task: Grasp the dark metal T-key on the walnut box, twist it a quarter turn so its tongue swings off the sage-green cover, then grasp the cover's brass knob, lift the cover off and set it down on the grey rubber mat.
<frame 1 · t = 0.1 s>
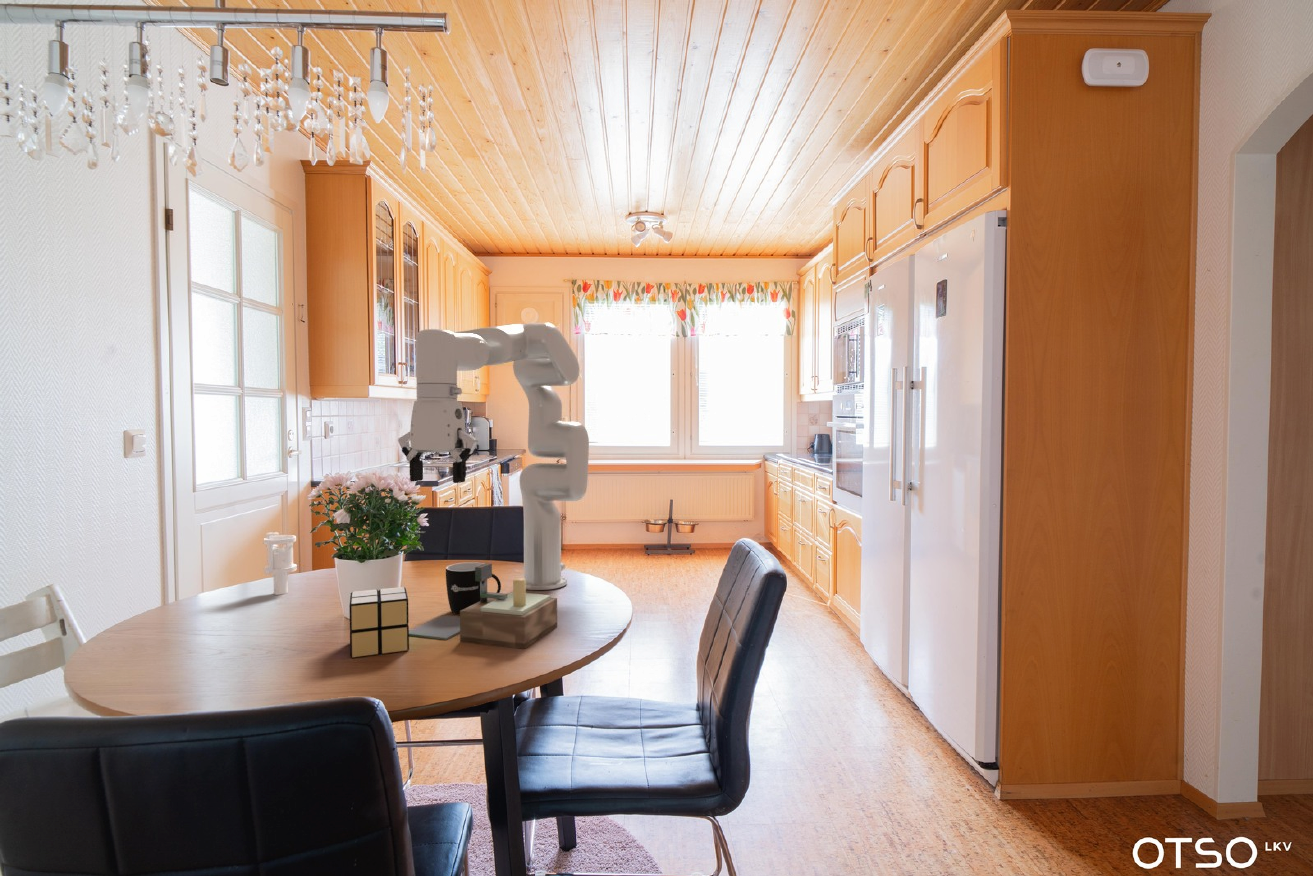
hand: (437, 481, 131), 31 cm above the table, fingers open, 9 cm apart
mug: (473, 611, 152), on the table
case: (510, 634, 136), on the table
puzzle cube: (379, 648, 128), on the table
mat: (444, 627, 139), on the table
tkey: (493, 584, 136), point 10 cm above the table, hinge at 0.0°
white cylindrical part: (280, 593, 167), on the table
cover: (516, 605, 135), point 6 cm above the table, touching case
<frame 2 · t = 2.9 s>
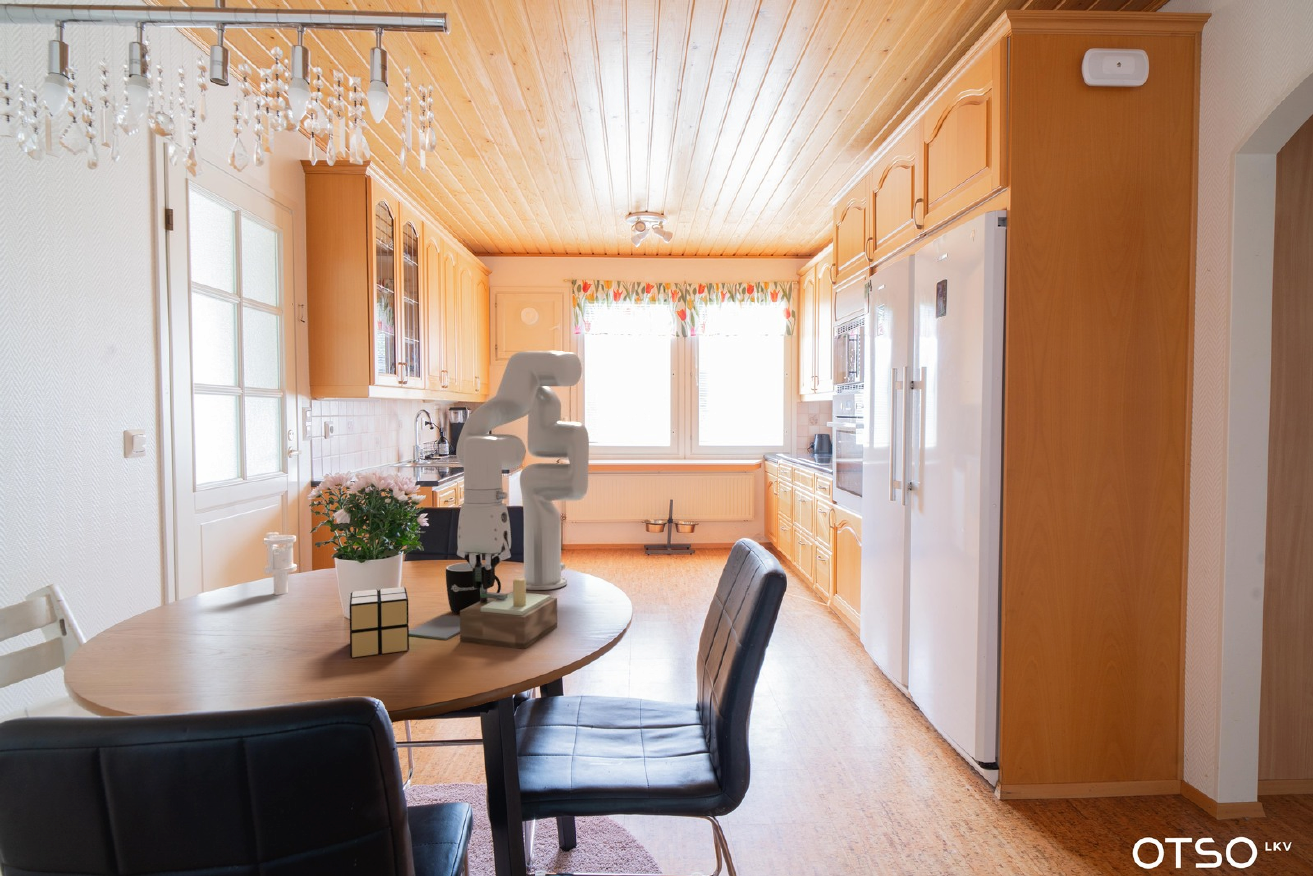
hand: (483, 586, 137), 9 cm above the table, fingers closed
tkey: (493, 584, 136), point 10 cm above the table, hinge at 0.0°, touching gripper
everything else where it was.
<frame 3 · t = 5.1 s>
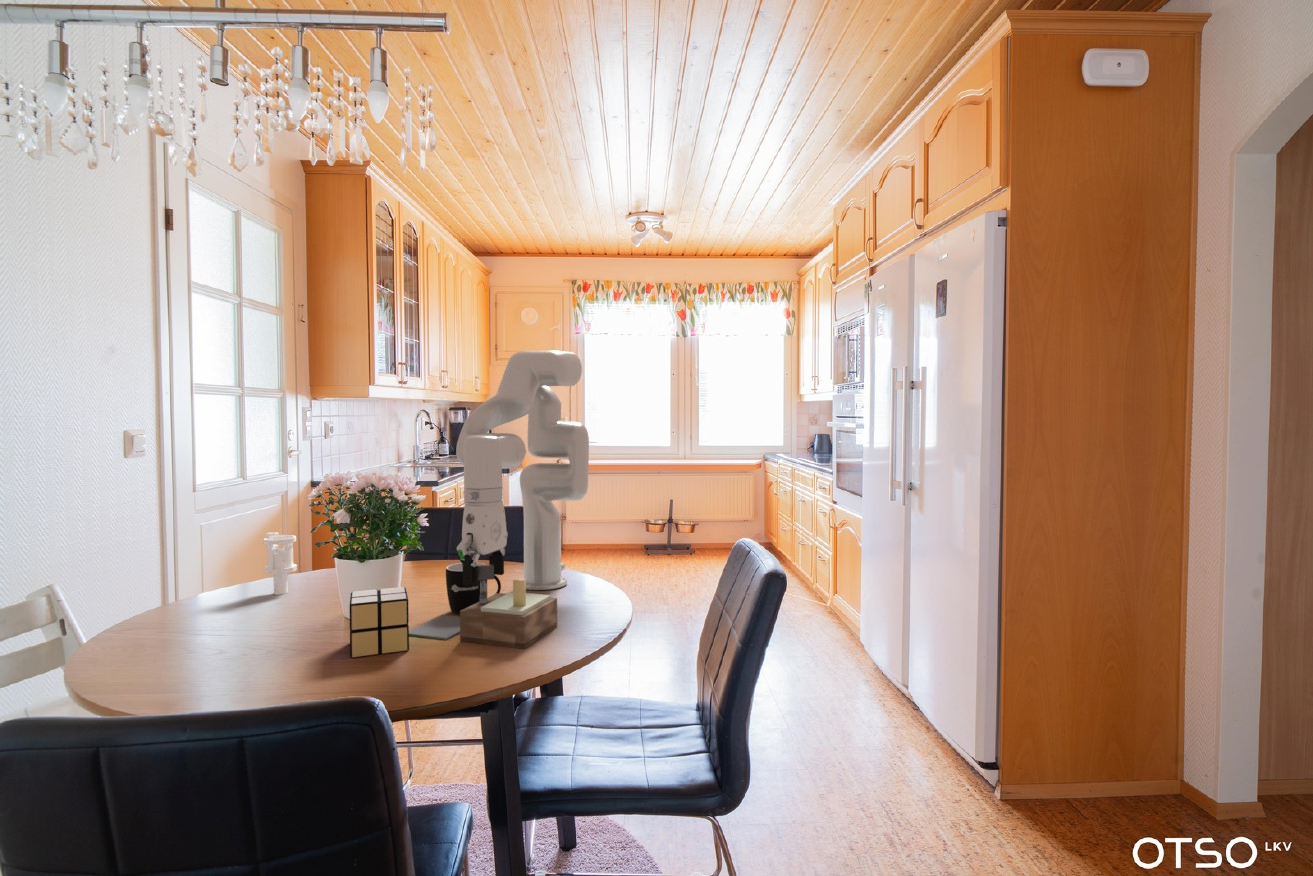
hand: (484, 579, 137), 10 cm above the table, fingers open, 9 cm apart
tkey: (483, 586, 135), point 10 cm above the table, hinge at -59.6°
everything else where it was.
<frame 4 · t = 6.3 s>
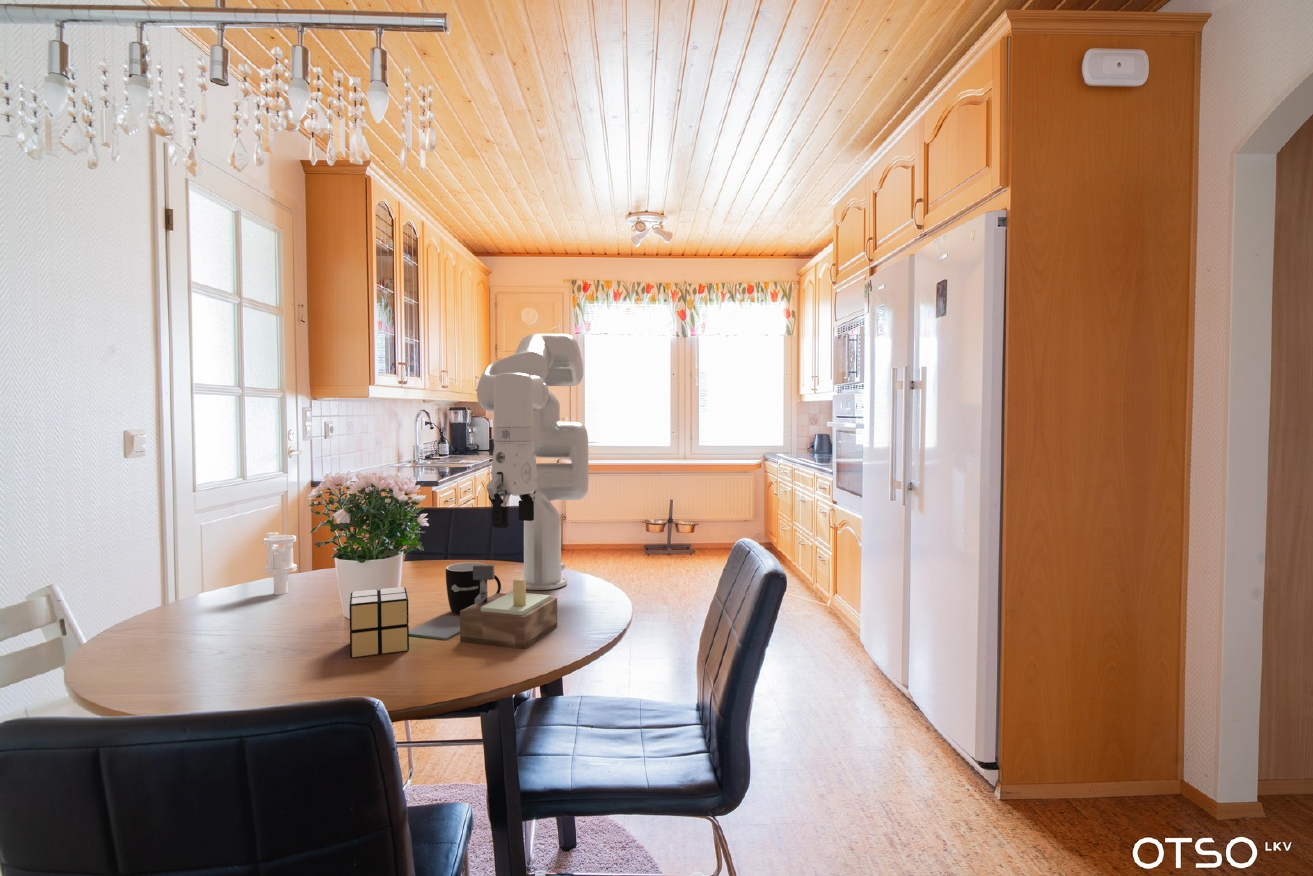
hand: (513, 523, 132), 23 cm above the table, fingers open, 9 cm apart
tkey: (481, 586, 135), point 10 cm above the table, hinge at -70.8°
everything else where it was.
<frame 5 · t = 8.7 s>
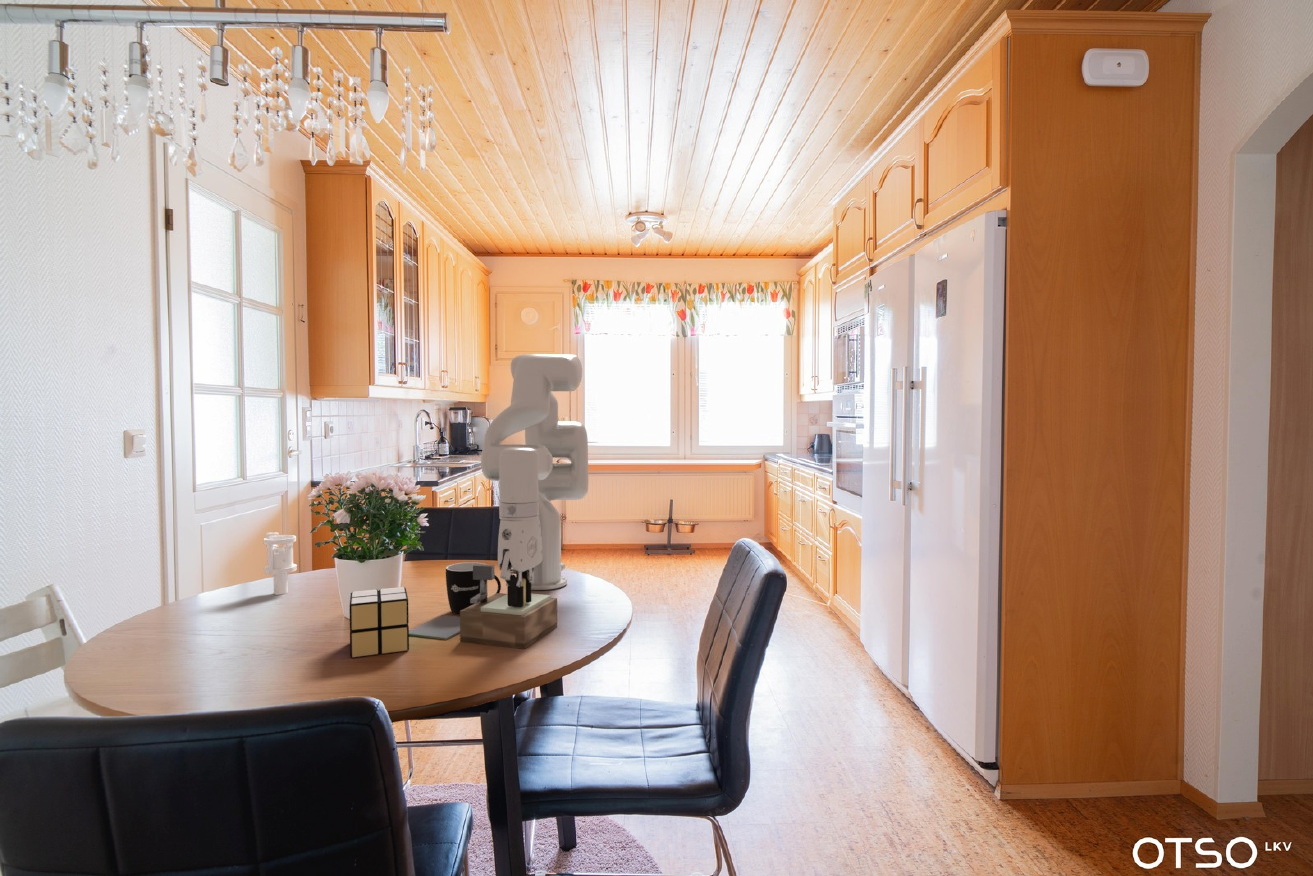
hand: (519, 603, 132), 7 cm above the table, fingers closed on cover, 2 cm apart
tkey: (479, 586, 135), point 10 cm above the table, hinge at -81.3°
cover: (516, 605, 135), point 6 cm above the table, touching case, gripper
everything else where it was.
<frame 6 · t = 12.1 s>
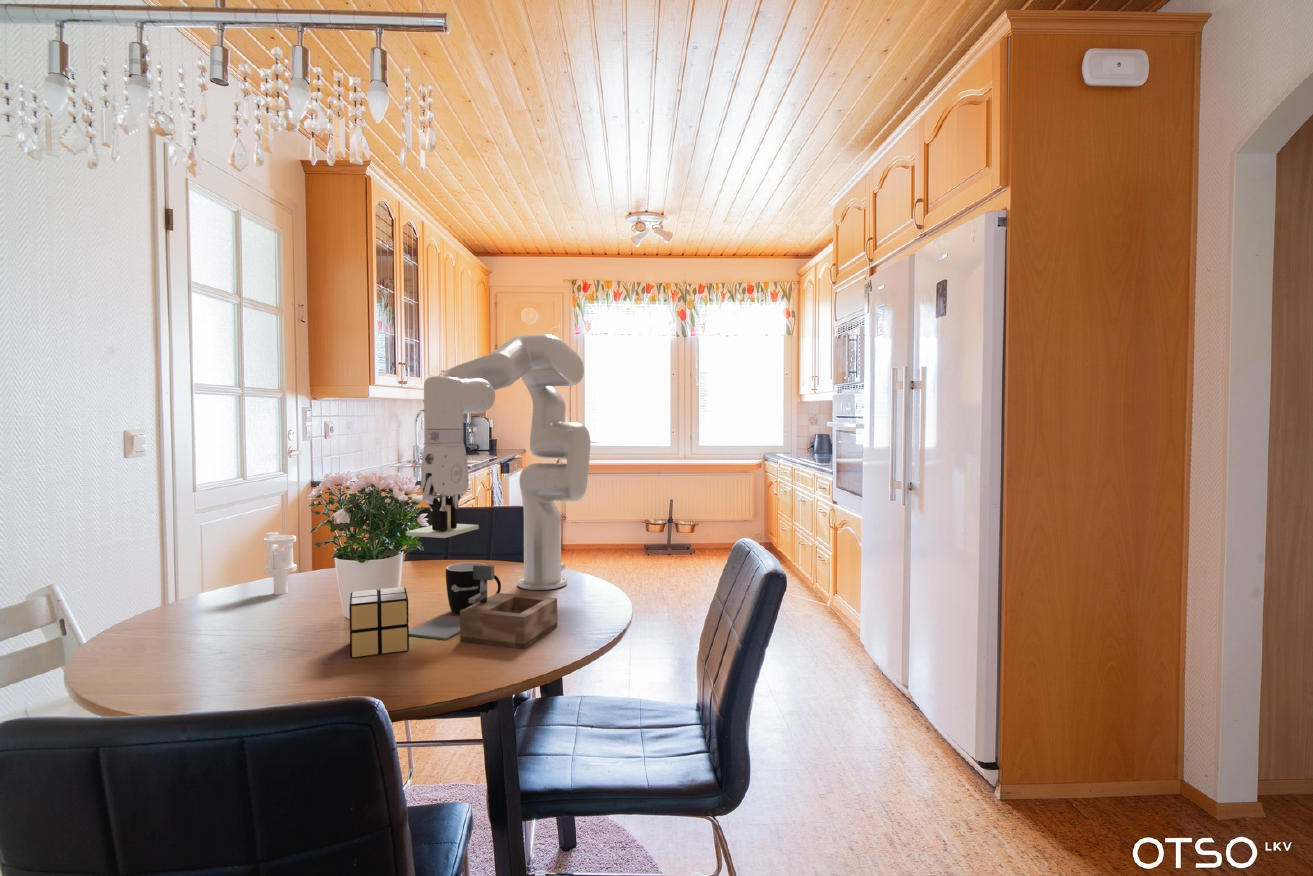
hand: (444, 528, 136), 21 cm above the table, fingers closed on cover, 2 cm apart
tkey: (478, 586, 135), point 10 cm above the table, hinge at -85.5°
cover: (443, 532, 139), point 20 cm above the table, touching gripper
everything else where it was.
when the fingers open (3 cm above the table, at t = 15.4 s): cover drops 2 cm, resting on mat.
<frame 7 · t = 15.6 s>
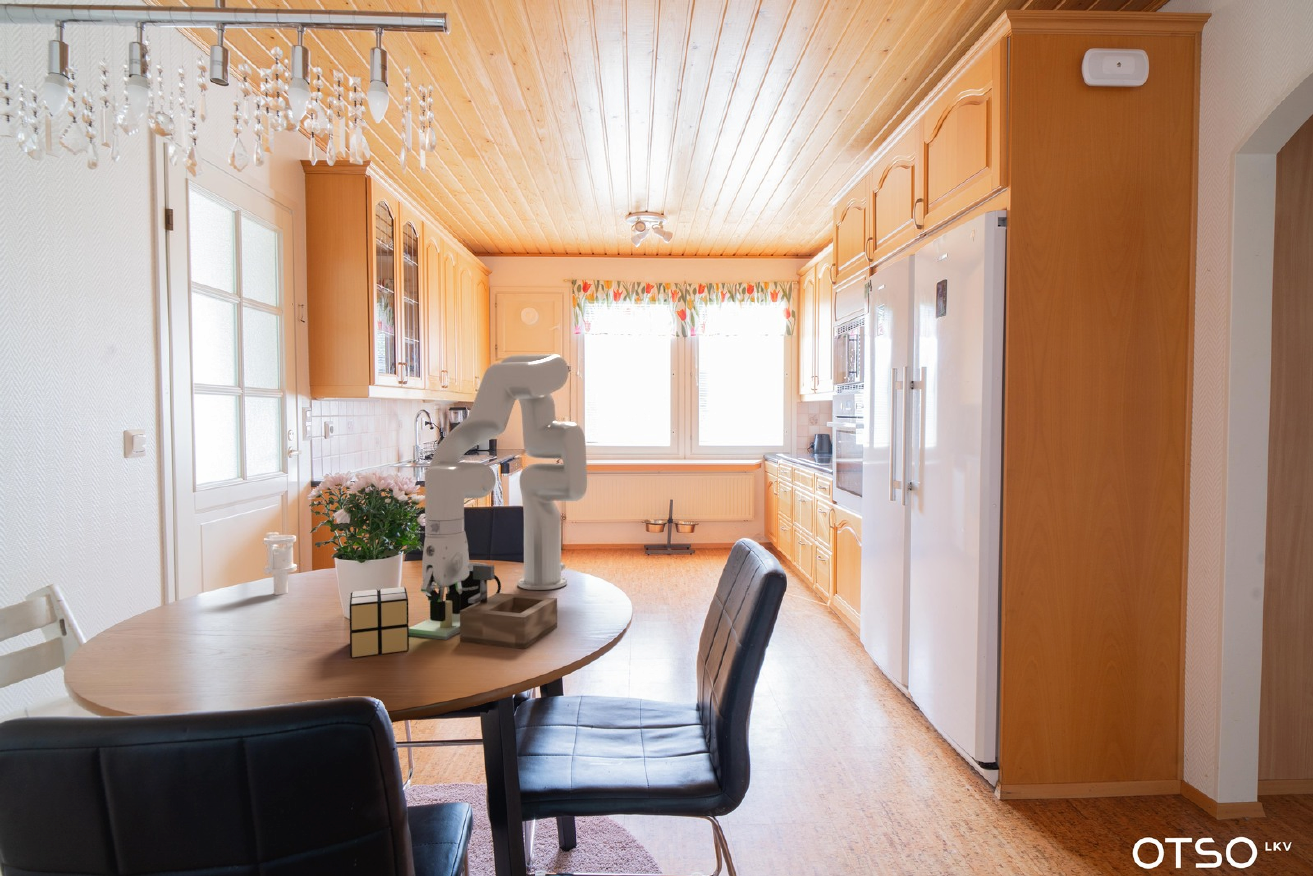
hand: (445, 616, 136), 3 cm above the table, fingers open, 4 cm apart
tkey: (478, 586, 135), point 10 cm above the table, hinge at -86.5°
cover: (445, 625, 140), resting on mat
everything else where it was.
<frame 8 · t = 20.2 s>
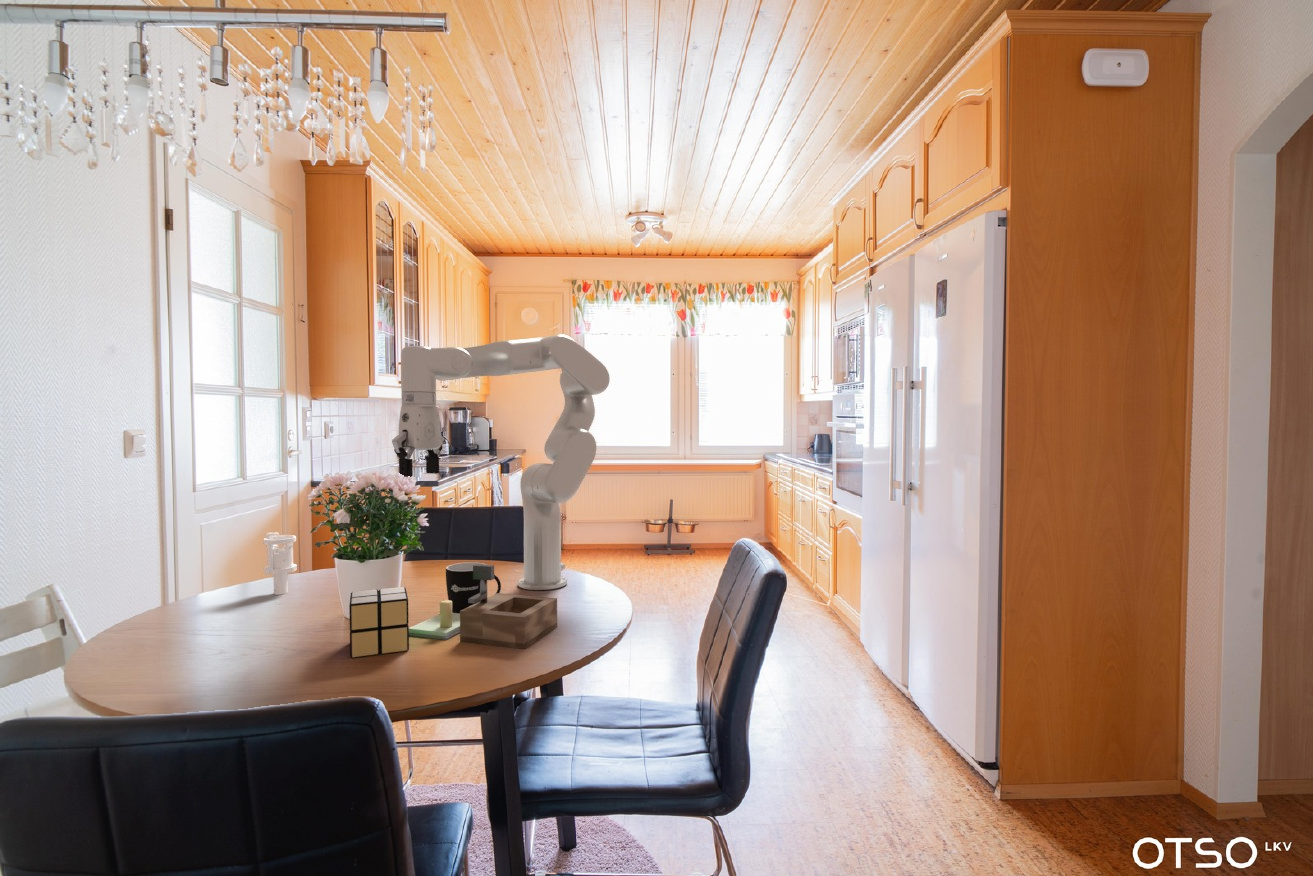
hand: (419, 475, 155), 30 cm above the table, fingers open, 9 cm apart
nothing on the table moved.
at the end: cover inside the target area on the mat (0.1 cm from its centre), point 0.4 cm above the mat's base; cover touching mat; the gripper is holding nothing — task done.
